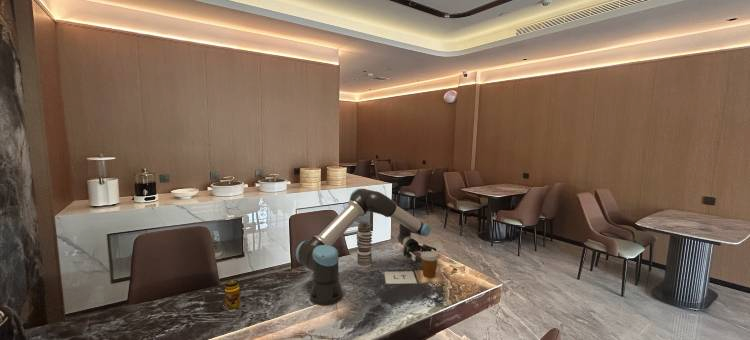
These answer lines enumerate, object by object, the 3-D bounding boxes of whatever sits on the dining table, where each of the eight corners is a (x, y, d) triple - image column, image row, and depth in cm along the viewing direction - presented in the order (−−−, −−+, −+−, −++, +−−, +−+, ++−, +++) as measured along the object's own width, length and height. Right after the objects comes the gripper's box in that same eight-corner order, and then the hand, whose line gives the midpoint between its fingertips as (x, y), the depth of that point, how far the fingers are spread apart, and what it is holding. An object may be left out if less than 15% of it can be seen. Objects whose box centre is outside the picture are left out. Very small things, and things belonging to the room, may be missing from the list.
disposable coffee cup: (417, 273, 172) (417, 251, 171) (432, 270, 175) (433, 250, 174) (425, 280, 163) (425, 258, 162) (441, 278, 166) (442, 256, 165)
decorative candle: (375, 263, 188) (375, 222, 185) (366, 269, 180) (366, 226, 177) (362, 260, 192) (362, 220, 190) (353, 265, 185) (353, 224, 182)
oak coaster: (418, 283, 162) (418, 281, 162) (414, 271, 176) (414, 270, 176) (445, 282, 163) (445, 281, 163) (439, 271, 177) (439, 269, 176)
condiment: (231, 313, 135) (229, 286, 134) (218, 308, 139) (217, 282, 138) (245, 305, 142) (244, 280, 140) (233, 300, 146) (232, 275, 144)
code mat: (386, 284, 162) (386, 283, 162) (384, 272, 176) (384, 271, 176) (417, 283, 162) (417, 282, 162) (412, 271, 176) (412, 271, 176)
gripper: (429, 248, 198) (446, 261, 178) (391, 252, 191) (405, 266, 171) (429, 236, 197) (446, 248, 177) (391, 240, 190) (405, 253, 170)
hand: (426, 257), depth 174 cm, fingers open, 13 cm apart
